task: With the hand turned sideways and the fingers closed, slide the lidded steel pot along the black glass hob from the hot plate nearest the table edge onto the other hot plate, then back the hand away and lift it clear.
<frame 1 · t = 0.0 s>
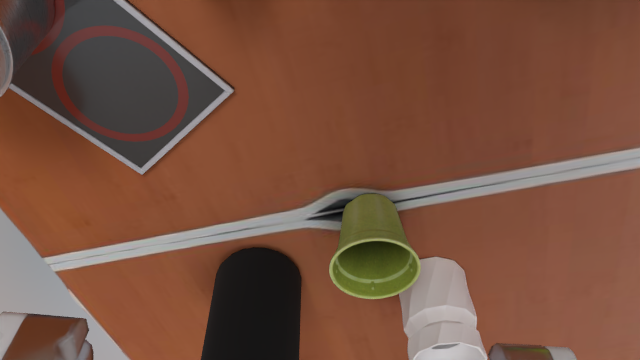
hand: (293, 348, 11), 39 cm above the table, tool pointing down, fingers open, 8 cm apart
coffee jar: (260, 270, 70), on the table
hob: (59, 39, 49), on the table
vase: (430, 277, 71), on the table
plant pot: (368, 210, 63), on the table
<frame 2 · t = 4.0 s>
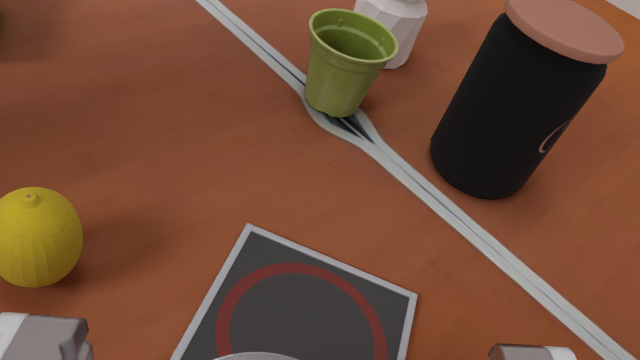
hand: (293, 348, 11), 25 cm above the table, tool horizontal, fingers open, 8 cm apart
coffee jar: (471, 168, 59), on the table
vase: (374, 51, 71), on the table
lemon: (40, 276, 37), on the table
plant pot: (330, 102, 61), on the table
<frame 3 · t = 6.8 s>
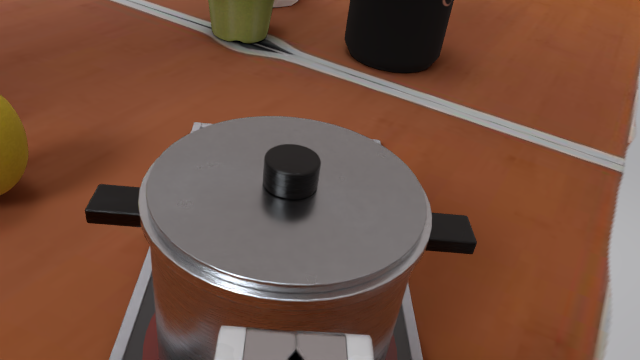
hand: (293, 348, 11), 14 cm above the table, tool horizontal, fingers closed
coffee jar: (389, 57, 61), on the table
steel pot: (273, 339, 27), resting on hob
hob: (279, 255, 33), on the table
plant pot: (240, 35, 61), on the table
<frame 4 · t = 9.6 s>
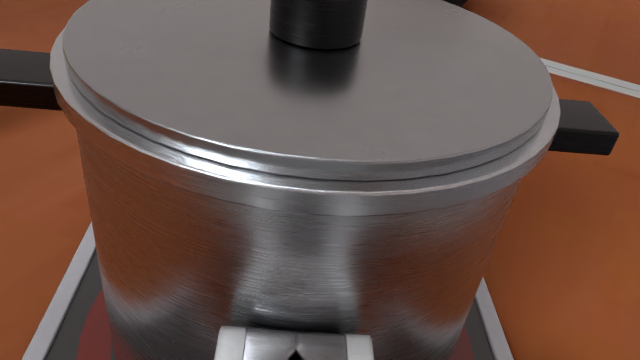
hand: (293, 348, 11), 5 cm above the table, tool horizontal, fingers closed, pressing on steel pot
coffee jar: (410, 0, 52), on the table
steel pot: (285, 308, 18), resting on hob, touching gripper
hob: (288, 212, 23), on the table
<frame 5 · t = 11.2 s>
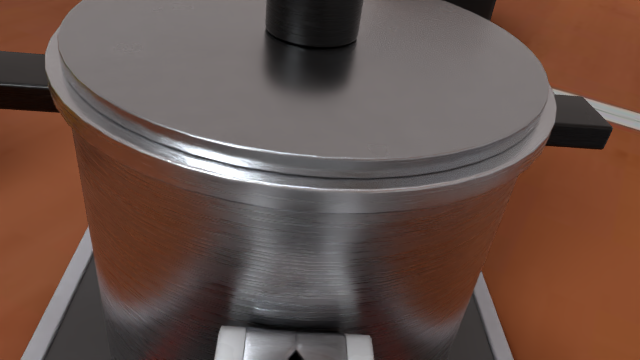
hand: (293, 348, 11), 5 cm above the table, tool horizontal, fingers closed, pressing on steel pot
coffee jar: (422, 23, 47), on the table
steel pot: (282, 307, 18), resting on hob, touching gripper
hob: (282, 333, 18), on the table
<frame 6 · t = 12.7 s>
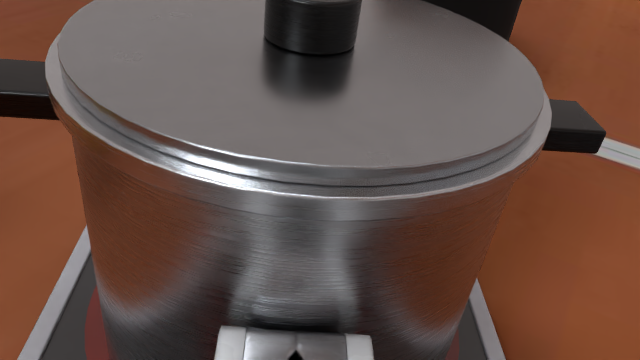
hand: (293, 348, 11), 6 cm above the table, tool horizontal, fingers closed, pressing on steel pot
coffee jar: (431, 49, 42), on the table
steel pot: (280, 311, 19), resting on hob, touching gripper
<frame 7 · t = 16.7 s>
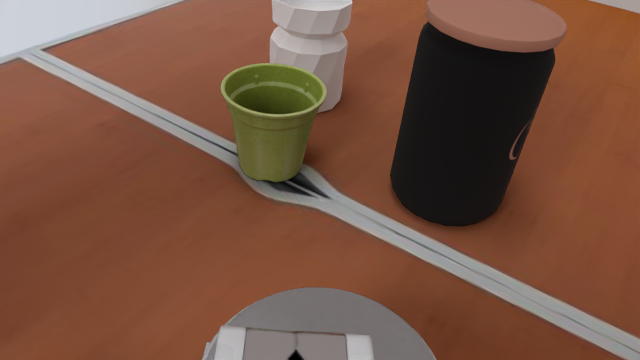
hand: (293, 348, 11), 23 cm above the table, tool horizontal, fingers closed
coffee jar: (442, 195, 53), on the table
vase: (304, 96, 66), on the table
plant pot: (270, 166, 54), on the table
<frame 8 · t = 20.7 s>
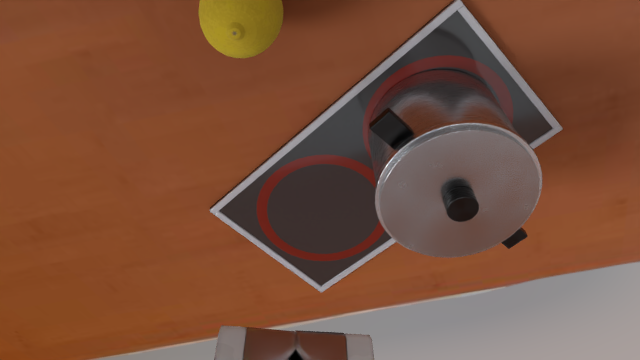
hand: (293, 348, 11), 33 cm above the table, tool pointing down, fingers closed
steel pot: (433, 130, 46), resting on hob
hob: (377, 168, 48), on the table
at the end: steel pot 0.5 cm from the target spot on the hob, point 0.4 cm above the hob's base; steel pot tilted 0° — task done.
